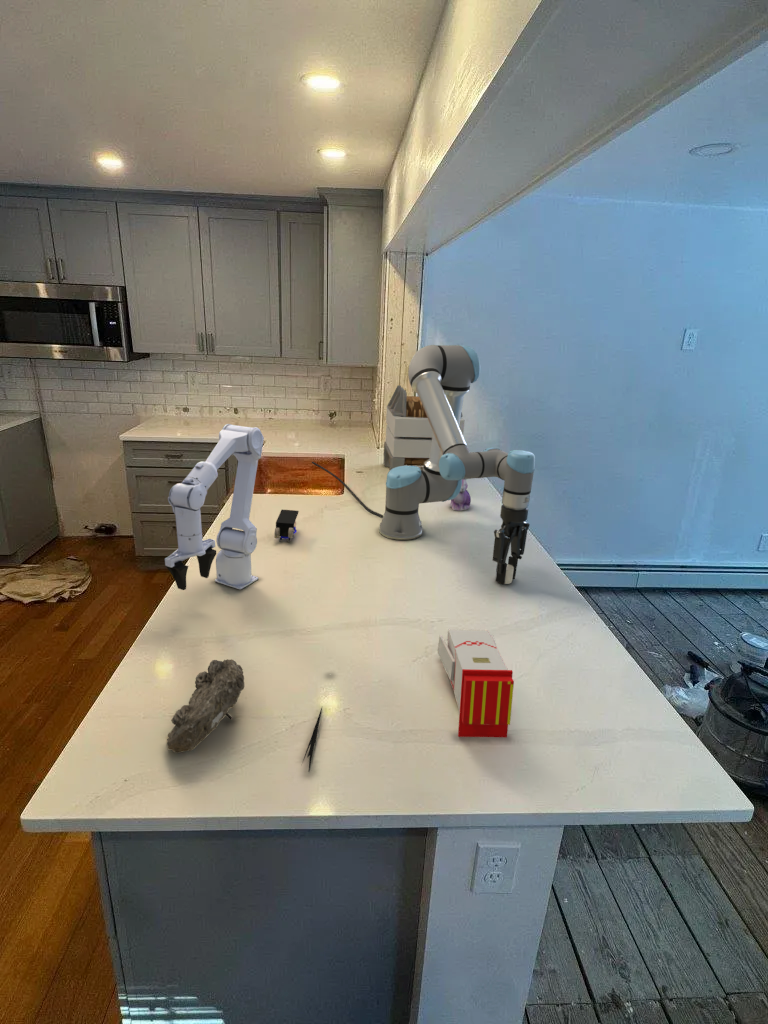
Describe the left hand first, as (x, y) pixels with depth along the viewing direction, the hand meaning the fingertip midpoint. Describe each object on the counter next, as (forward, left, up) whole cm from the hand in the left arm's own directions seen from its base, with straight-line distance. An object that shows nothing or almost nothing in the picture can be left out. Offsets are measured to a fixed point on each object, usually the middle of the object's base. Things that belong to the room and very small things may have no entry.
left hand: (193, 582), depth 141 cm
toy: (+71, +6, -8) cm, 72 cm away
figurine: (+28, +116, -8) cm, 119 cm away
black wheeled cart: (-11, +53, -8) cm, 54 cm away
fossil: (+31, -27, -8) cm, 42 cm away
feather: (+49, -17, -8) cm, 53 cm away
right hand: (+63, +60, -8) cm, 88 cm away
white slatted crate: (-6, +153, -8) cm, 153 cm away
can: (+63, +60, -8) cm, 88 cm away
